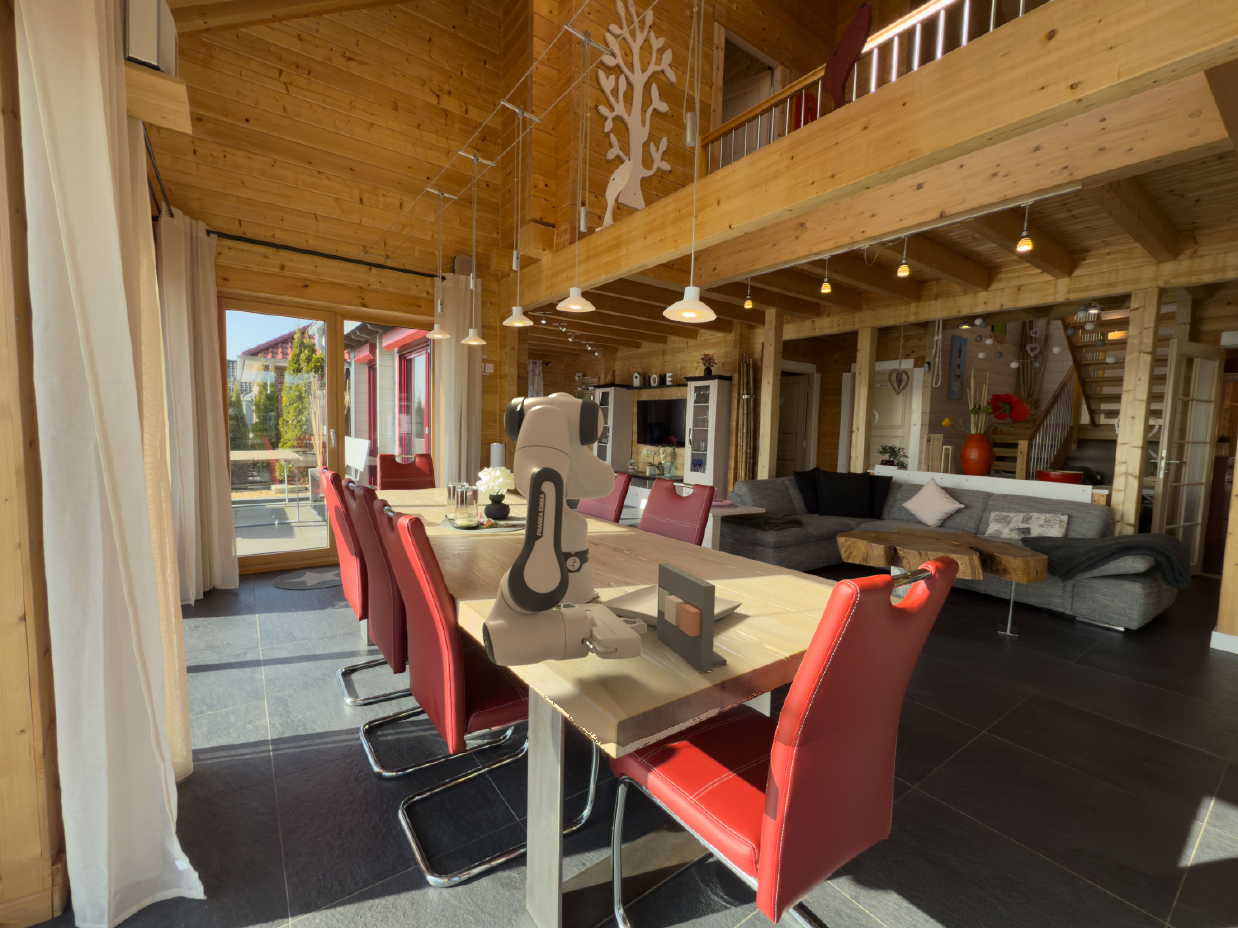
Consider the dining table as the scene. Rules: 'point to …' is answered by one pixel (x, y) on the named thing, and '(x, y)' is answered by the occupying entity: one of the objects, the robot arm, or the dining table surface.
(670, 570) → the keyguard
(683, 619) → the key terracotta
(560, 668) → the dining table surface
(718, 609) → the square plate
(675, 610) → the key ivory
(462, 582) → the dining table surface
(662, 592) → the key sage
